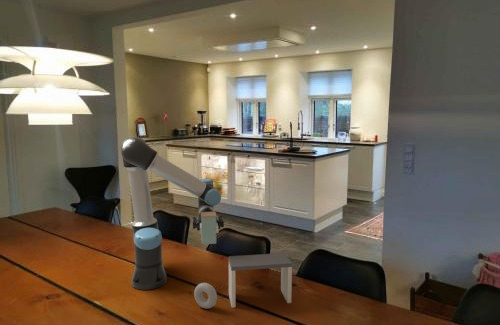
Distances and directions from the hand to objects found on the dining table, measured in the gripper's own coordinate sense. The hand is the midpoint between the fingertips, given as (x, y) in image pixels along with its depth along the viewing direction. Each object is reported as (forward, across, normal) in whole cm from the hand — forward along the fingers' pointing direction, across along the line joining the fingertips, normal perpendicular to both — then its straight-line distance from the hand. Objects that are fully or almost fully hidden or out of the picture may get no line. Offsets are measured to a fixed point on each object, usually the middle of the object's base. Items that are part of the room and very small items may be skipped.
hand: (209, 230), depth 148 cm
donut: (+11, +2, -28) cm, 30 cm away
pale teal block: (-5, 0, -7) cm, 8 cm away
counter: (+7, -20, -28) cm, 35 cm away
